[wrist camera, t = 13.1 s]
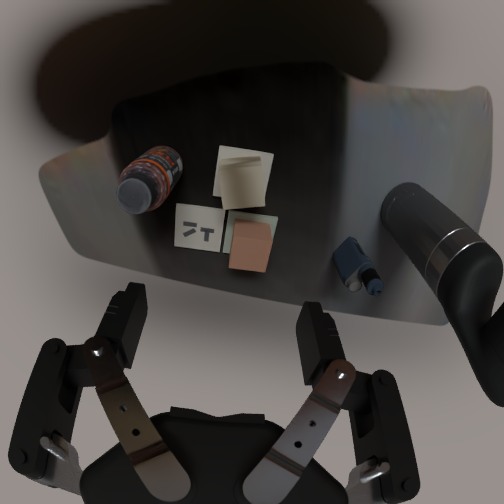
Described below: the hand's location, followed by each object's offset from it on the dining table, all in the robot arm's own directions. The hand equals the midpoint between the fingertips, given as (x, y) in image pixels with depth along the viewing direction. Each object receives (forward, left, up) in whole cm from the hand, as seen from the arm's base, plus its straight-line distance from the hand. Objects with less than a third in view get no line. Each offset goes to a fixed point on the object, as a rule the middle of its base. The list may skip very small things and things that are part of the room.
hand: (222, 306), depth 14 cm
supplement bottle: (+10, +2, -26) cm, 28 cm away
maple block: (-1, +2, -26) cm, 26 cm away
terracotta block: (-4, +11, -26) cm, 28 cm away
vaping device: (-19, +11, -26) cm, 34 cm away
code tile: (+4, +11, -26) cm, 28 cm away
